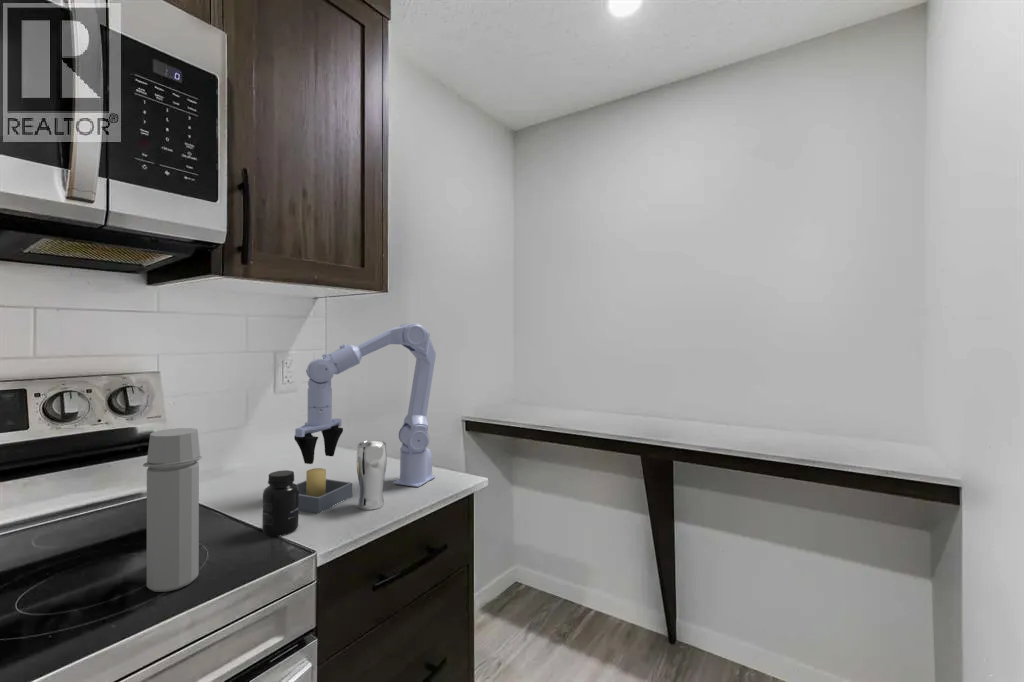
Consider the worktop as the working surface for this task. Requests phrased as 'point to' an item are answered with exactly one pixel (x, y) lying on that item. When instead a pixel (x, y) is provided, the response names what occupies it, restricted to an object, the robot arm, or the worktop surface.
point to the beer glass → (371, 473)
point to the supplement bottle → (280, 504)
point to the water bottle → (172, 509)
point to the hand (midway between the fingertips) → (319, 459)
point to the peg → (316, 482)
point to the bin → (324, 496)
